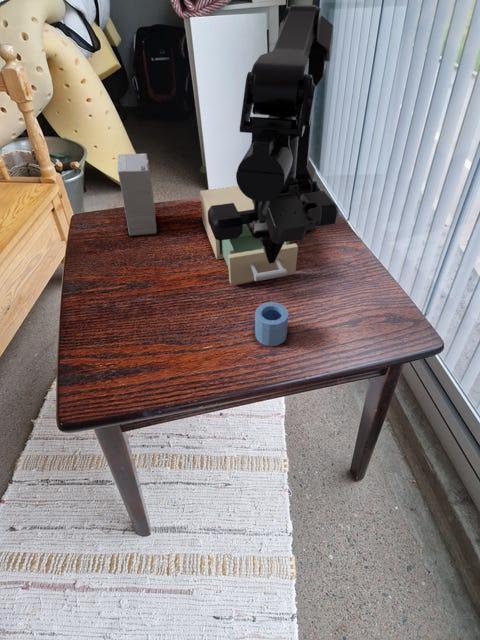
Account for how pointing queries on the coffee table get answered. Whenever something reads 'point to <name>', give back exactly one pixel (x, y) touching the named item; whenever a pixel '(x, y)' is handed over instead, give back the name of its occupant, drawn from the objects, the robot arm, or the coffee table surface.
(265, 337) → the jar
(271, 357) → the coffee table surface
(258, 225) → the robot arm
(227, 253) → the drawer
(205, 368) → the coffee table surface
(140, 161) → the cosmetic box
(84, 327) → the coffee table surface
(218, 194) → the cabinet
